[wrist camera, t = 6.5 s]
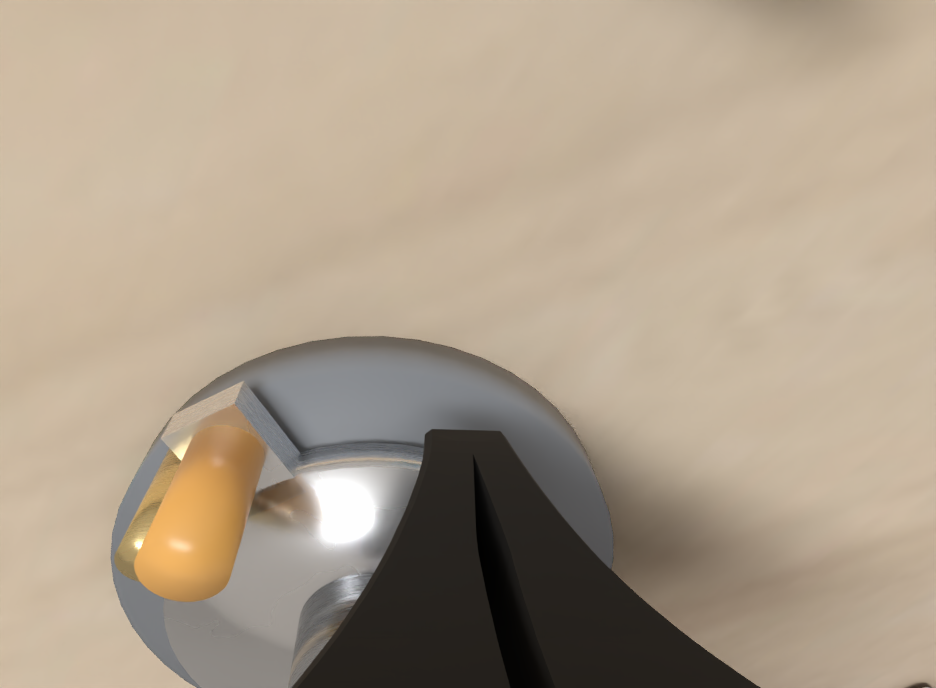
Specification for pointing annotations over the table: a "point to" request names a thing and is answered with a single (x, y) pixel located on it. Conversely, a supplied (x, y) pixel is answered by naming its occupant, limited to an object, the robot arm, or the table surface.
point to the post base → (371, 437)
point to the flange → (265, 540)
